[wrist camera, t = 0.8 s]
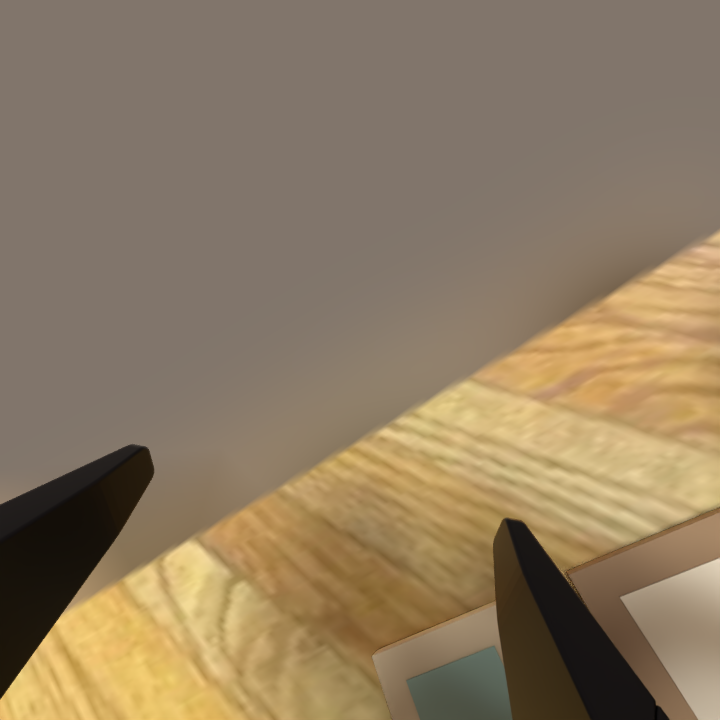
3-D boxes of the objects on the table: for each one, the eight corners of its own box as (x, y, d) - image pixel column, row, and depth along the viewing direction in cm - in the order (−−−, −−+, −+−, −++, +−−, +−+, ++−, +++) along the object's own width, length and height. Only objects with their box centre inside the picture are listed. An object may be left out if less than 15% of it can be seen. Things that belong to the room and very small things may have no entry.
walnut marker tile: (907, 717, 12) (935, 733, 11) (690, 779, 13) (701, 797, 12) (725, 505, 15) (737, 505, 14) (566, 571, 16) (568, 575, 15)
